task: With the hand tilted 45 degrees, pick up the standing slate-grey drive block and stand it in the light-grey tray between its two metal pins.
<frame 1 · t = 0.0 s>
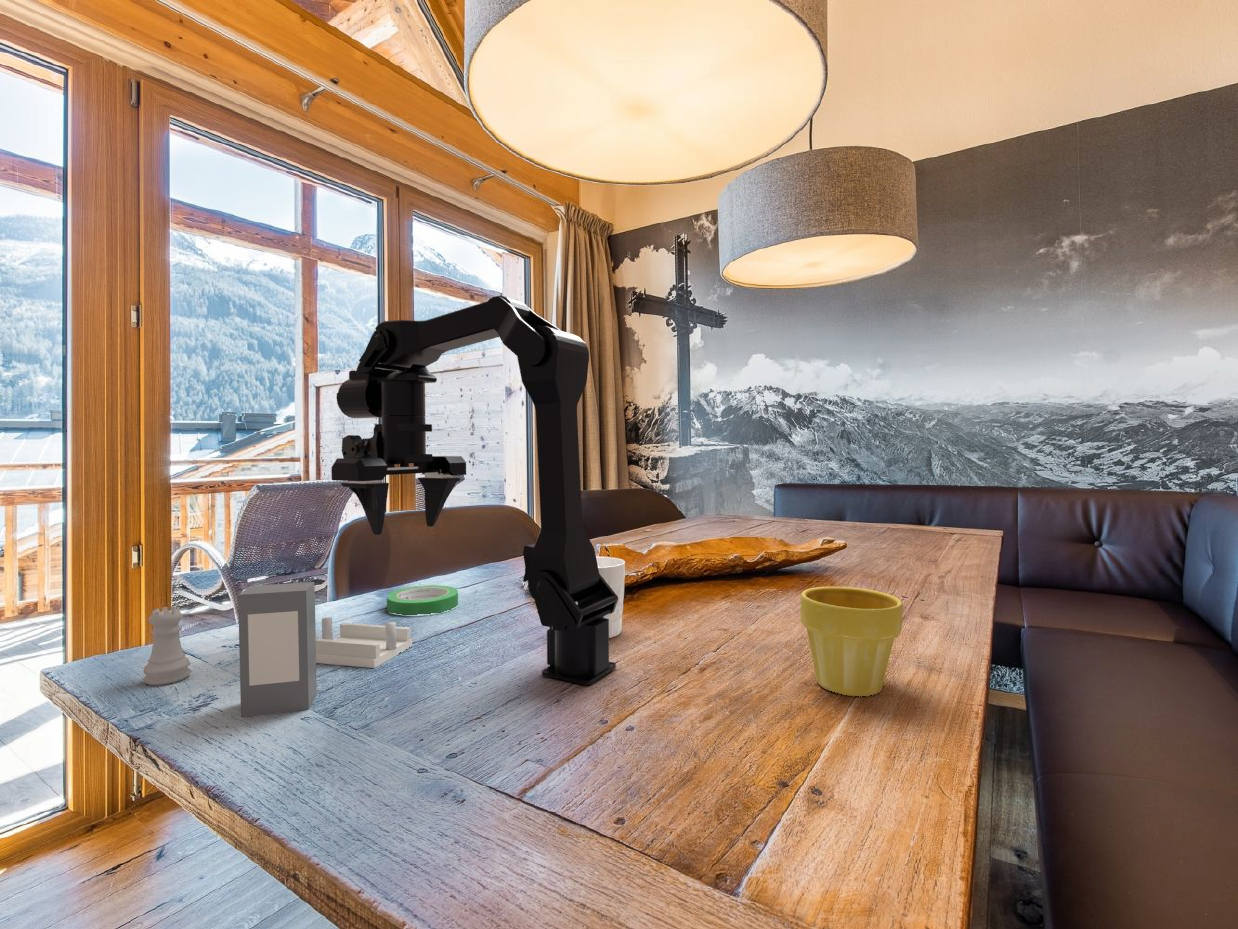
hand: (405, 530, 84), 15 cm above the table, tool pointing down, fingers open, 9 cm apart
drive: (280, 704, 62), on the table
plant pot: (849, 686, 67), on the table
tray: (359, 653, 77), on the table
rook chess piece: (167, 681, 69), on the table
white cup: (597, 633, 86), on the table
tape roll: (423, 610, 100), on the table
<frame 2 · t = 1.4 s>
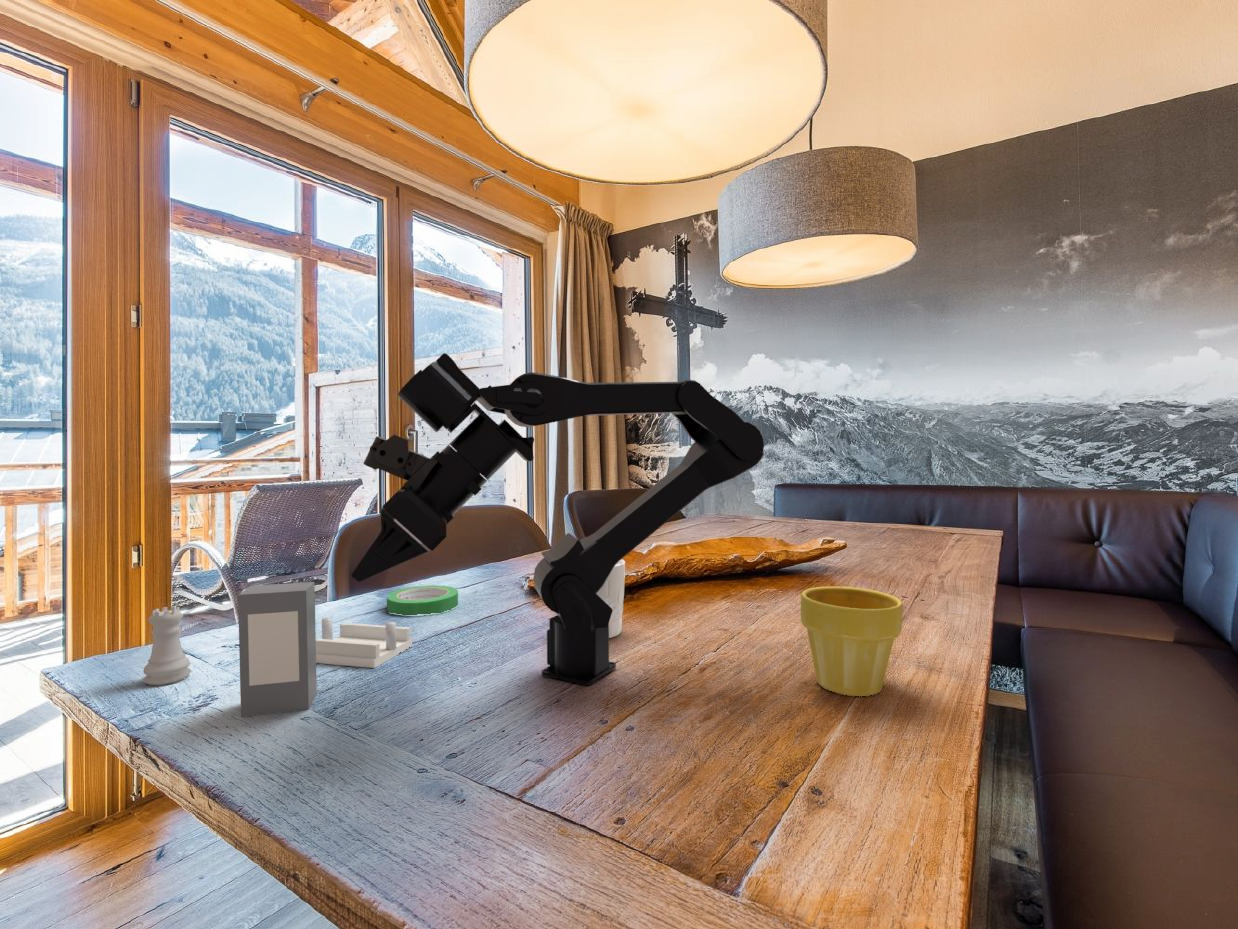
hand: (361, 569, 64), 13 cm above the table, tool tilted 45°, fingers open, 9 cm apart
nothing on the table moved.
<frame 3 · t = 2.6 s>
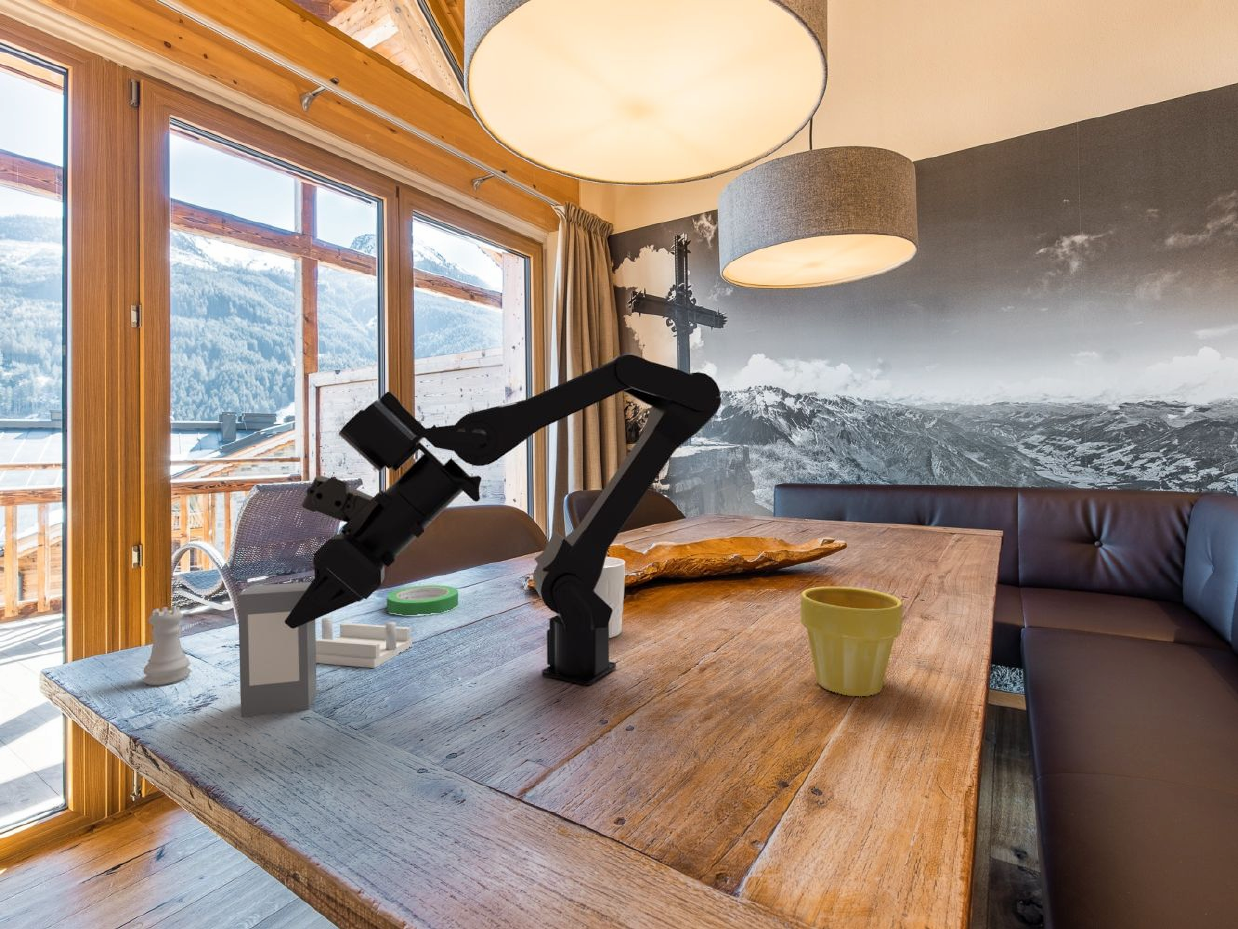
hand: (299, 612, 62), 9 cm above the table, tool tilted 45°, fingers open, 9 cm apart
nothing on the table moved.
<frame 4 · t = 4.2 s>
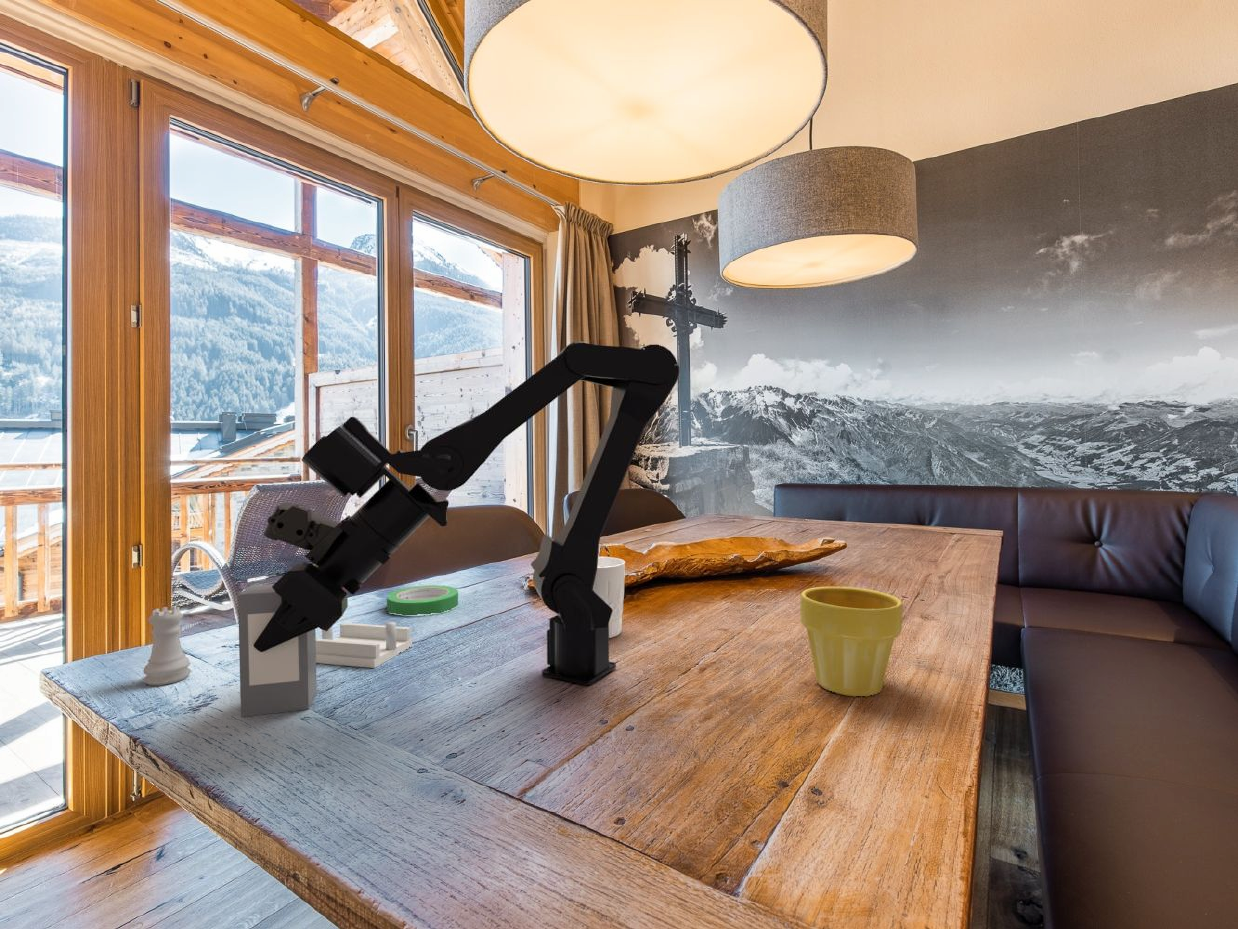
hand: (263, 641, 62), 7 cm above the table, tool tilted 45°, fingers closed on drive, 4 cm apart
drive: (280, 704, 62), on the table, touching gripper
everything else where it was.
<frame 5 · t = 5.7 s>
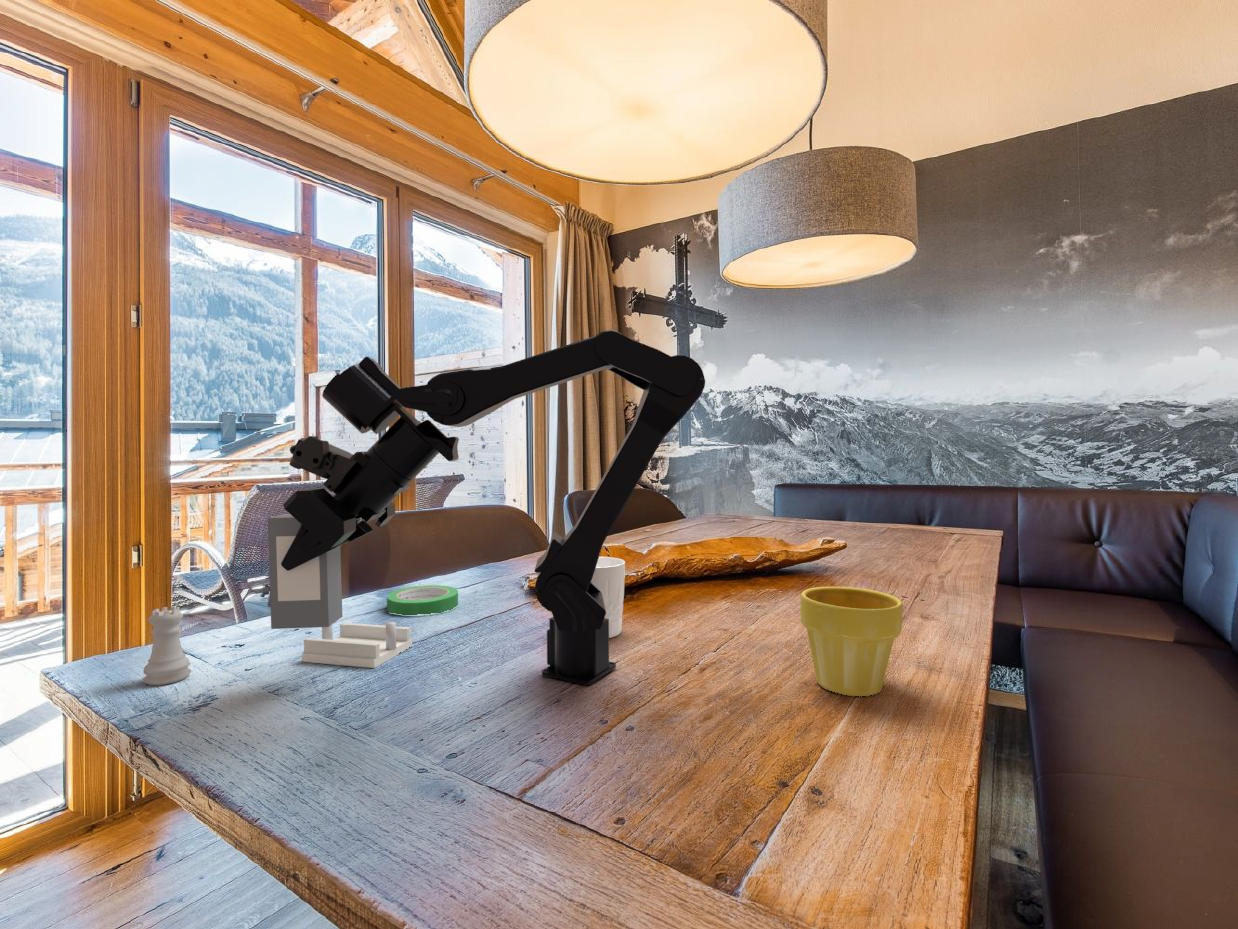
hand: (293, 563, 68), 13 cm above the table, tool tilted 45°, fingers closed on drive, 4 cm apart
drive: (308, 622, 68), point 7 cm above the table, touching gripper
everything else where it was.
when the fingers open (9 cm above the table, at t = 7.6 s): drive drops 1 cm, resting on tray.
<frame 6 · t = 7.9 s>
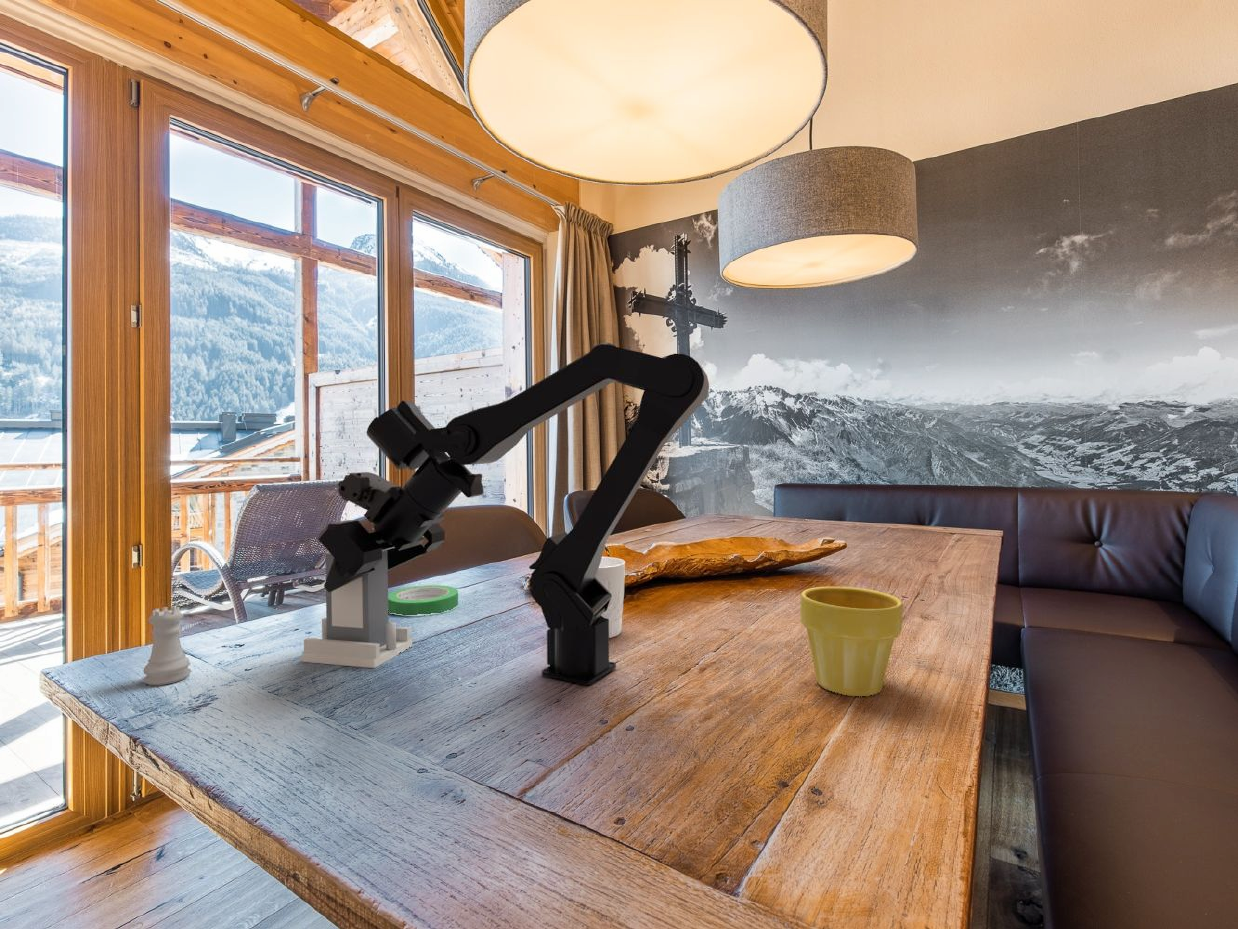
hand: (348, 582, 77), 9 cm above the table, tool tilted 45°, fingers open, 7 cm apart
drive: (358, 646, 77), point 1 cm above the table, touching tray
everything else where it was.
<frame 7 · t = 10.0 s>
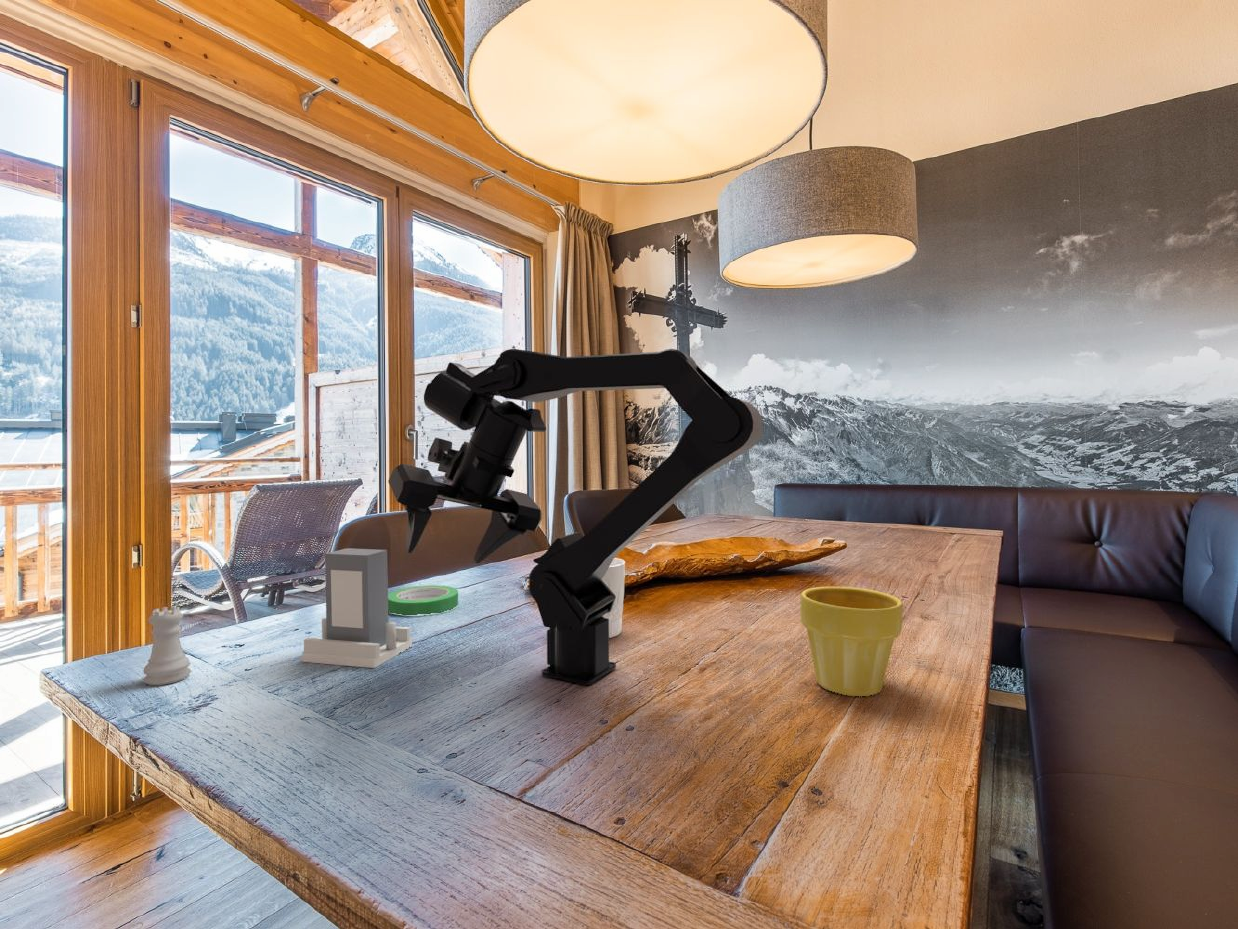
hand: (443, 556, 77), 12 cm above the table, tool tilted 30°, fingers open, 9 cm apart
nothing on the table moved.
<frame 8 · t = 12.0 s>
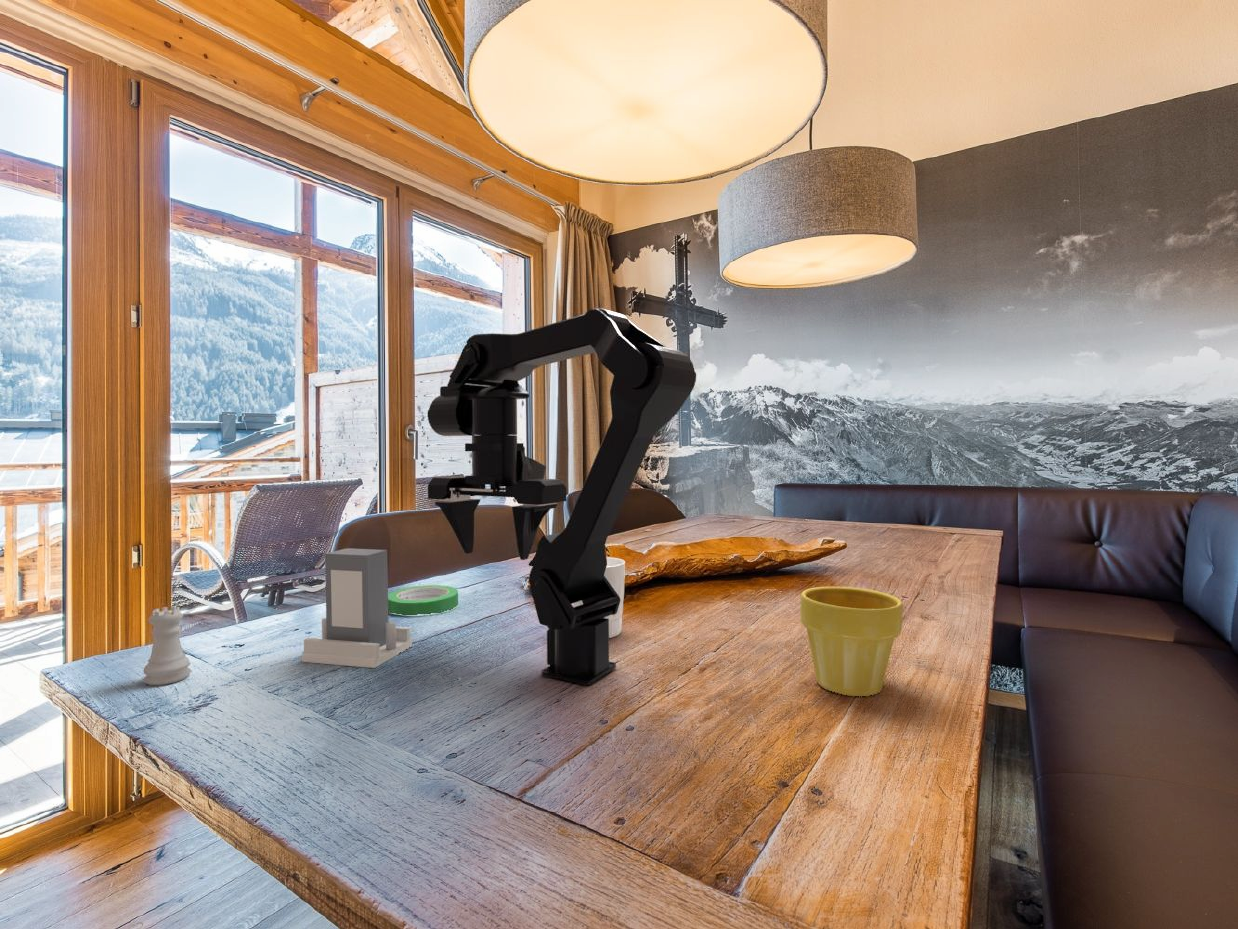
hand: (495, 556, 79), 12 cm above the table, tool pointing down, fingers open, 9 cm apart
nothing on the table moved.
at the end: drive 0.1 cm off-centre on the tray, point 1.0 cm above the tray's base; drive tilted 0°; the gripper is holding nothing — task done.
